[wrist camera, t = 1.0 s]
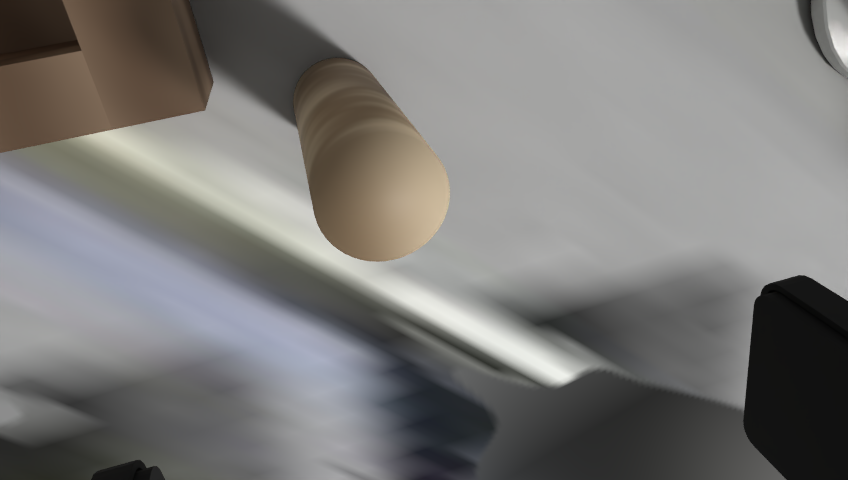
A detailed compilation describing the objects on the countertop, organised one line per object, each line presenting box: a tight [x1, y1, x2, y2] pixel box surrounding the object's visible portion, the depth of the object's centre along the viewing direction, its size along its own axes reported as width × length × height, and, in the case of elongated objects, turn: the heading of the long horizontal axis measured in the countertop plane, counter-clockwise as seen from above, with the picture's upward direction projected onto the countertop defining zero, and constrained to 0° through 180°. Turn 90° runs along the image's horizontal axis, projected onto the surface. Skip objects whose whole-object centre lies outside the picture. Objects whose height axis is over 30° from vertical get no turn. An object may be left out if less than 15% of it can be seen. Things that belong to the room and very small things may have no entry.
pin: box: [293, 58, 450, 261], centre depth 24 cm, size 4×4×12 cm
